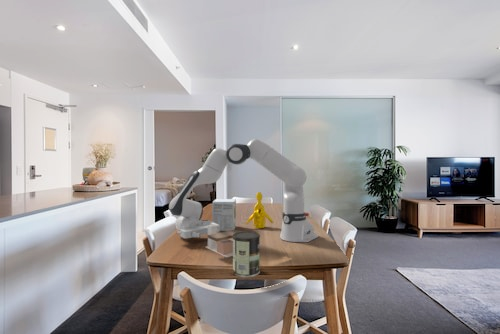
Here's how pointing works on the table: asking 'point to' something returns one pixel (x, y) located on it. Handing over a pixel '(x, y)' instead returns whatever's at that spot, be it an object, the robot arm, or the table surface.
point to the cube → (225, 247)
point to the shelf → (223, 235)
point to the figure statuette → (259, 214)
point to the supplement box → (224, 213)
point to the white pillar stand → (211, 243)
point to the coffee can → (246, 254)
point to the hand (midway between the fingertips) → (208, 233)
